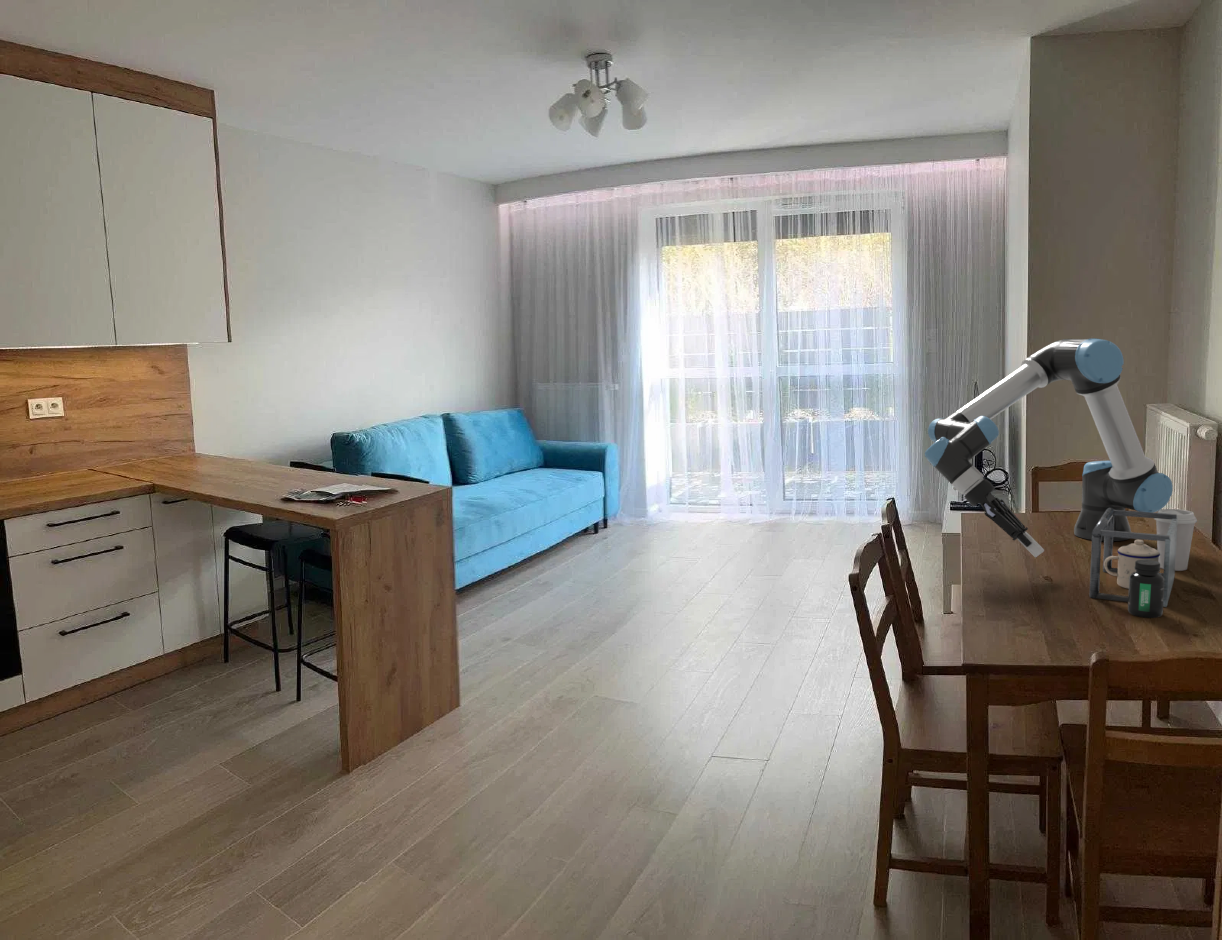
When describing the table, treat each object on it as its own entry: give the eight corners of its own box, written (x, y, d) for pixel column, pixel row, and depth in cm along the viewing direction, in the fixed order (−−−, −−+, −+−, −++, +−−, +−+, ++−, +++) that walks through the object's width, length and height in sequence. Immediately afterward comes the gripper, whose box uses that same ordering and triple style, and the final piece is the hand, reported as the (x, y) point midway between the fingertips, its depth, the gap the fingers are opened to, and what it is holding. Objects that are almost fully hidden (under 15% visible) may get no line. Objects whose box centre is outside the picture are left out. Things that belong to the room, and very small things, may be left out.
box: (1103, 570, 239) (1106, 507, 237) (1174, 577, 230) (1178, 512, 228) (1088, 597, 218) (1091, 528, 215) (1166, 607, 208) (1170, 535, 206)
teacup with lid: (1154, 581, 228) (1156, 536, 226) (1161, 592, 219) (1164, 545, 217) (1100, 578, 232) (1102, 534, 230) (1105, 589, 224) (1107, 543, 222)
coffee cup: (1194, 573, 233) (1197, 517, 230) (1151, 569, 238) (1154, 514, 235) (1193, 564, 241) (1197, 509, 238) (1152, 561, 246) (1154, 507, 243)
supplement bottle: (1148, 620, 200) (1151, 567, 198) (1120, 612, 207) (1123, 561, 205) (1169, 615, 203) (1172, 563, 201) (1141, 607, 209) (1143, 556, 207)
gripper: (969, 491, 249) (1033, 556, 242) (957, 500, 238) (1023, 568, 232) (990, 473, 245) (1055, 539, 238) (978, 481, 235) (1047, 550, 228)
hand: (1040, 553), depth 235 cm, fingers closed
